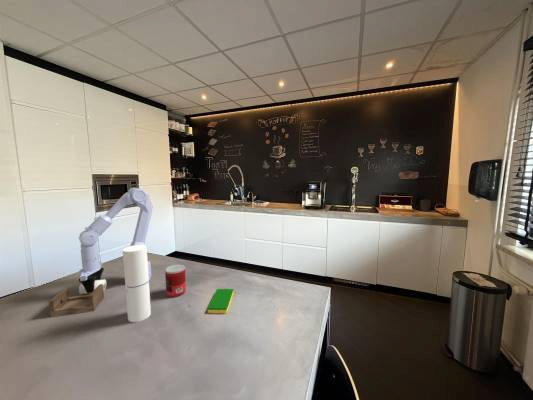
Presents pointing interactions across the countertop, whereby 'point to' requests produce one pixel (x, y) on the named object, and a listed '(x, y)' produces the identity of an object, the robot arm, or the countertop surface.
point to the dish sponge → (221, 301)
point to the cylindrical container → (137, 282)
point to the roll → (97, 282)
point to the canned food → (175, 280)
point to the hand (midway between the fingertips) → (93, 289)
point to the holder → (75, 302)
